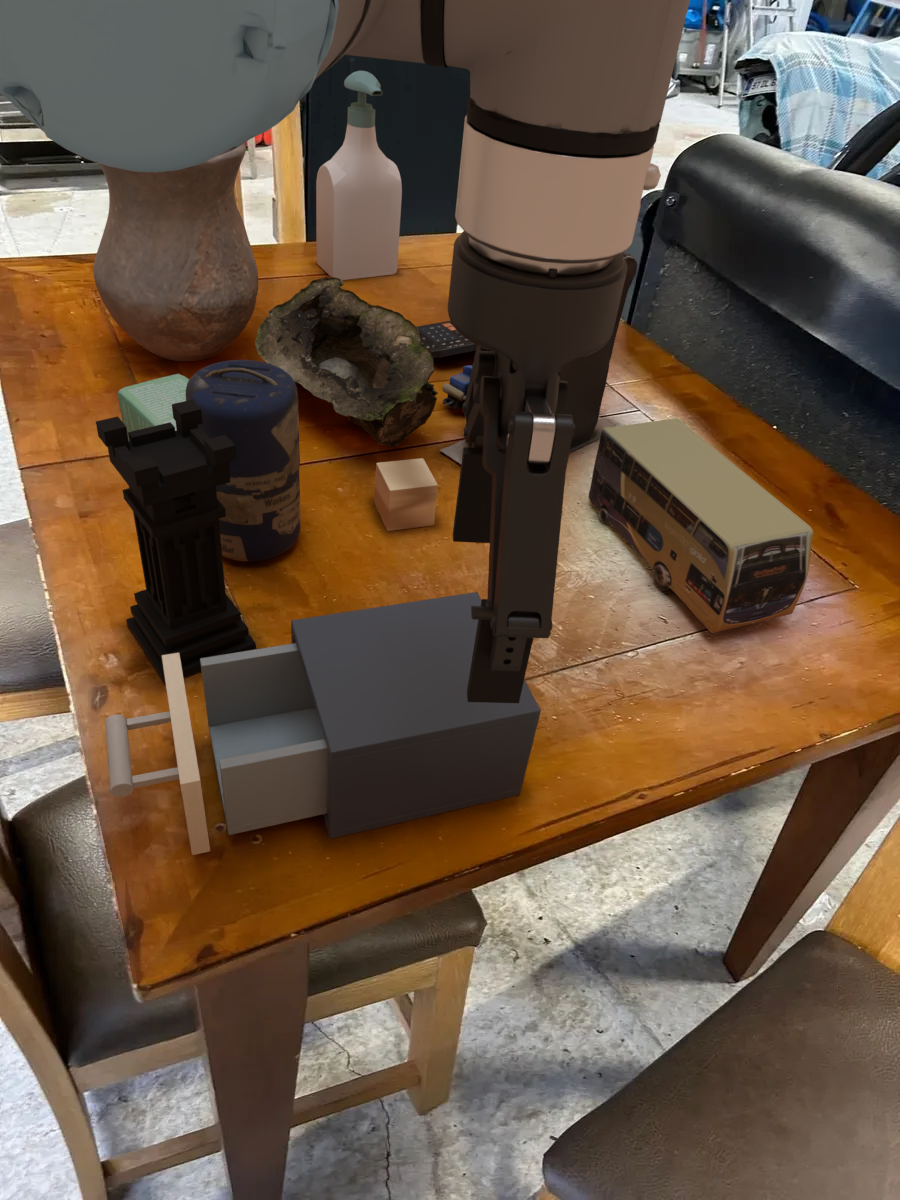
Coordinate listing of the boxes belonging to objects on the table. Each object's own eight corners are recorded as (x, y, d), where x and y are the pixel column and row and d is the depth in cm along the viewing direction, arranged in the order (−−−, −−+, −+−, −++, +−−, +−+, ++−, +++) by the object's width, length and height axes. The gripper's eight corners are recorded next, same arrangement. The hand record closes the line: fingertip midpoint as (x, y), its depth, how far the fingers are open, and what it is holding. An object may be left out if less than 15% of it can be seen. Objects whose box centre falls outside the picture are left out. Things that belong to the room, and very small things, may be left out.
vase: (83, 332, 115) (44, 119, 98) (219, 307, 124) (204, 109, 108) (146, 400, 104) (114, 173, 87) (290, 366, 113) (286, 156, 97)
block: (387, 531, 89) (389, 490, 86) (374, 503, 93) (376, 462, 89) (434, 525, 91) (438, 485, 88) (419, 497, 94) (423, 457, 91)
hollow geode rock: (415, 502, 102) (503, 402, 99) (346, 456, 91) (443, 342, 89) (306, 385, 118) (380, 296, 115) (238, 334, 107) (317, 236, 105)
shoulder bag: (565, 398, 114) (613, 166, 96) (620, 428, 110) (682, 191, 91) (438, 452, 101) (466, 196, 83) (495, 489, 97) (537, 227, 78)
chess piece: (165, 685, 71) (130, 476, 58) (127, 626, 76) (87, 420, 62) (256, 649, 75) (243, 446, 62) (215, 595, 80) (195, 395, 66)
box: (186, 428, 100) (179, 368, 95) (250, 487, 93) (246, 424, 88) (124, 447, 96) (114, 385, 91) (186, 510, 89) (177, 446, 84)
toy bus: (705, 644, 81) (737, 555, 74) (581, 508, 97) (598, 427, 91) (791, 623, 84) (828, 537, 78) (658, 495, 100) (679, 416, 94)
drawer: (124, 871, 58) (105, 799, 53) (113, 738, 66) (96, 665, 60) (386, 811, 63) (392, 741, 58) (347, 696, 71) (350, 625, 66)
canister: (272, 580, 82) (265, 407, 70) (181, 552, 84) (159, 379, 72) (317, 525, 89) (317, 359, 77) (232, 500, 91) (220, 334, 79)
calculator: (451, 326, 127) (453, 305, 125) (497, 361, 120) (500, 340, 118) (395, 336, 123) (396, 315, 121) (439, 373, 116) (441, 351, 114)
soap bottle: (337, 285, 134) (341, 80, 116) (316, 265, 139) (316, 65, 121) (402, 278, 139) (415, 79, 121) (379, 258, 144) (388, 65, 126)
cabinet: (329, 839, 62) (330, 752, 56) (293, 707, 71) (290, 619, 64) (520, 795, 66) (541, 710, 60) (464, 676, 75) (477, 591, 69)
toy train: (569, 372, 120) (576, 336, 117) (456, 422, 107) (460, 384, 103) (548, 361, 122) (554, 326, 118) (434, 409, 109) (437, 371, 105)
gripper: (707, 388, 29) (580, 787, 43) (581, 162, 47) (521, 491, 61) (478, 373, 28) (425, 784, 42) (441, 149, 47) (413, 485, 60)
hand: (482, 611), depth 52 cm, fingers open, 13 cm apart
